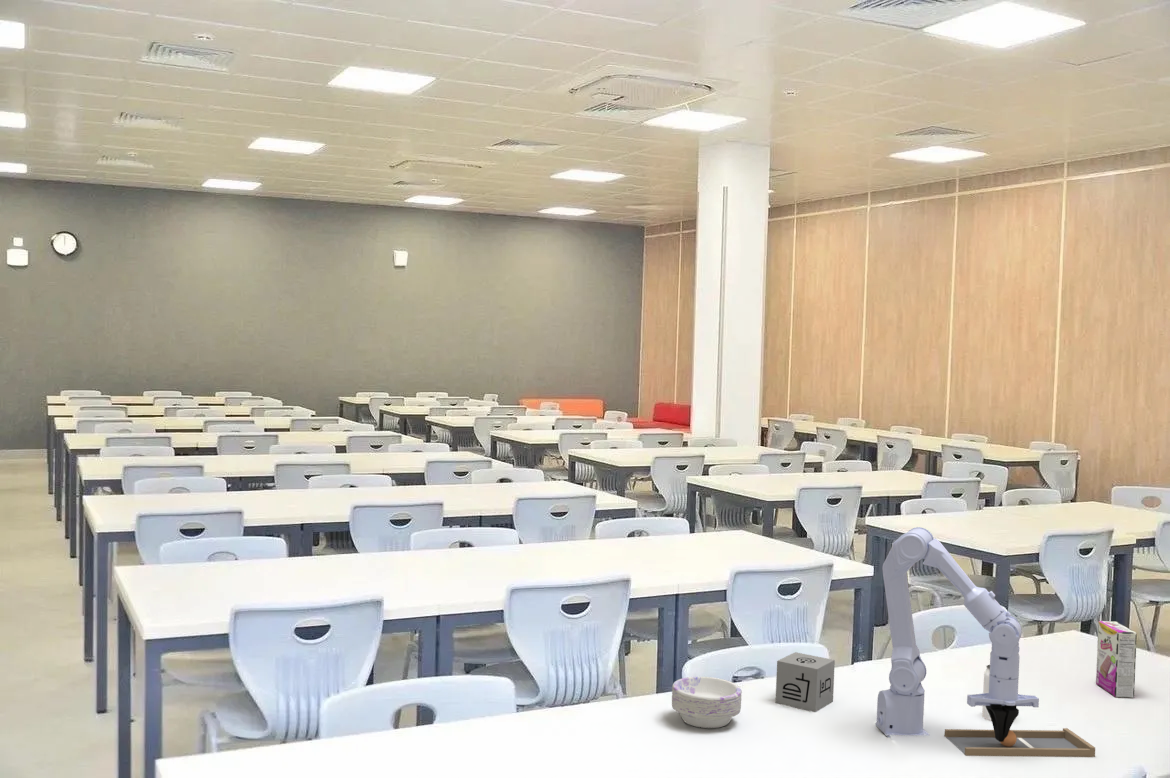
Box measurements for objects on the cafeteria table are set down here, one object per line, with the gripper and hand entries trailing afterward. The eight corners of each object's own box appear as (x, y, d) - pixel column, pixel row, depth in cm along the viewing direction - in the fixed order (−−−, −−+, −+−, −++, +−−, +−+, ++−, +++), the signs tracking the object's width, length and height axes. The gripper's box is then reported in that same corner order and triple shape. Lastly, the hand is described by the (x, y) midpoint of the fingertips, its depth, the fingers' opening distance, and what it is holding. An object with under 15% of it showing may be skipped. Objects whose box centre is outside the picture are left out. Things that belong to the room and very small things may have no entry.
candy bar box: (1094, 684, 281) (1097, 620, 280) (1114, 685, 281) (1117, 621, 280) (1114, 698, 270) (1117, 631, 269) (1135, 698, 270) (1138, 632, 269)
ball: (1005, 730, 230) (1021, 735, 230) (998, 725, 233) (1014, 729, 233) (1000, 746, 230) (1016, 751, 230) (993, 740, 233) (1009, 745, 233)
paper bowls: (738, 736, 234) (739, 699, 234) (666, 729, 237) (668, 692, 237) (742, 714, 249) (743, 679, 249) (675, 707, 252) (676, 673, 252)
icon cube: (815, 712, 252) (817, 669, 251) (775, 703, 258) (777, 660, 257) (833, 702, 260) (834, 660, 260) (793, 693, 266) (795, 652, 265)
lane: (966, 758, 225) (966, 746, 225) (944, 738, 237) (944, 726, 237) (1094, 759, 227) (1095, 747, 227) (1066, 739, 238) (1067, 728, 238)
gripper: (977, 680, 227) (975, 746, 227) (1046, 681, 227) (1043, 747, 228) (964, 670, 234) (961, 734, 234) (1031, 672, 234) (1028, 735, 235)
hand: (1001, 740), depth 231 cm, fingers closed, pressing on ball
